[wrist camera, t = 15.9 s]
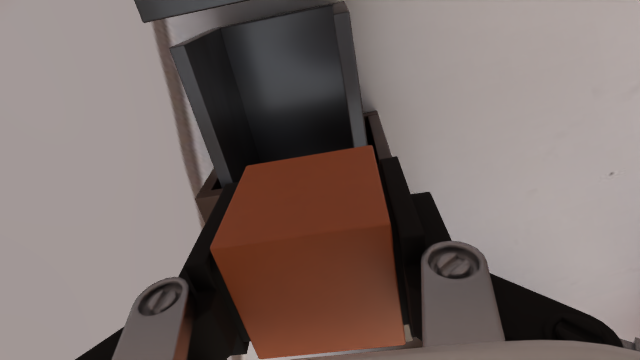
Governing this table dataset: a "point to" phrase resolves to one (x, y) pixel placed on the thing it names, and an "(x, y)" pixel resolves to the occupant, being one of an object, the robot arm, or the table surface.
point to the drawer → (269, 84)
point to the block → (312, 255)
